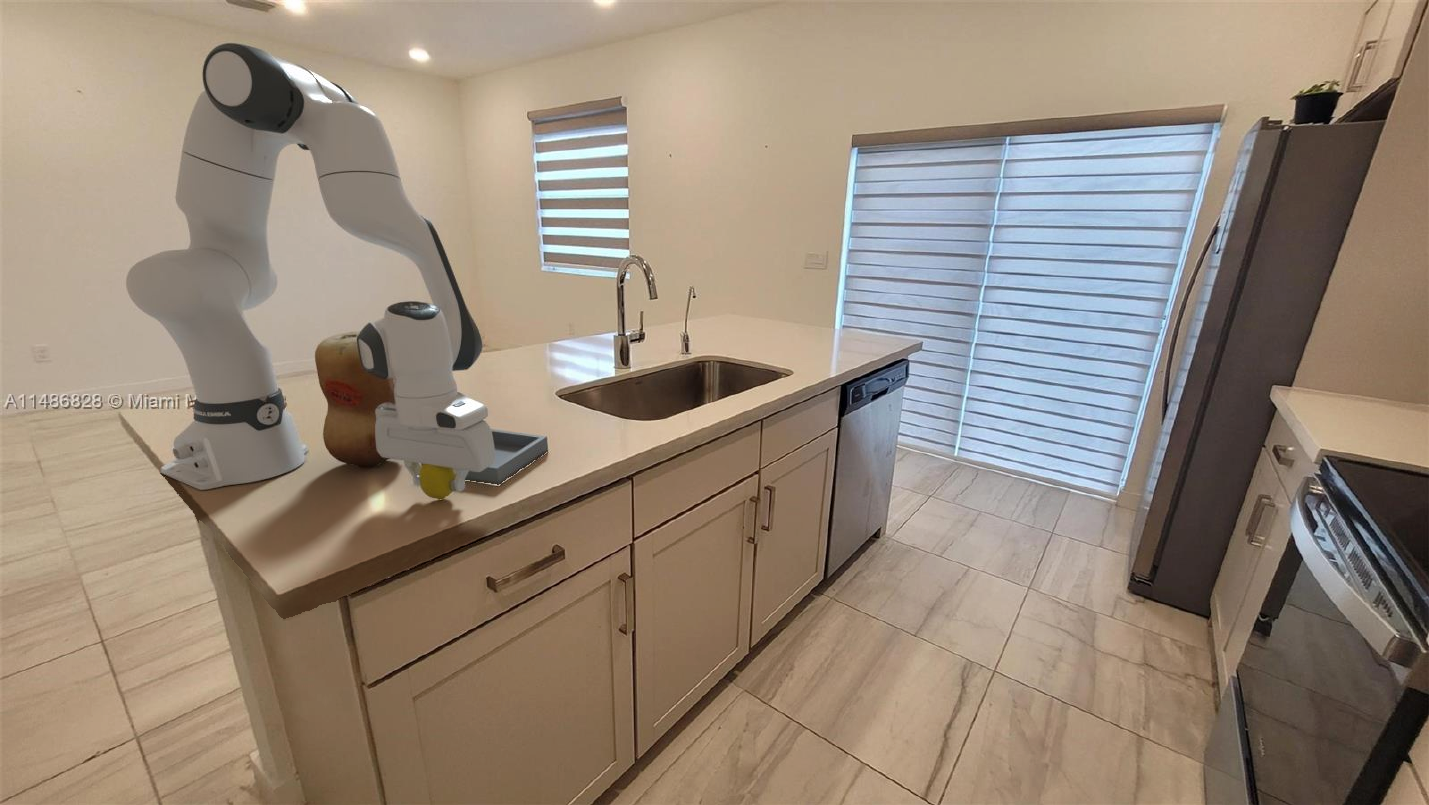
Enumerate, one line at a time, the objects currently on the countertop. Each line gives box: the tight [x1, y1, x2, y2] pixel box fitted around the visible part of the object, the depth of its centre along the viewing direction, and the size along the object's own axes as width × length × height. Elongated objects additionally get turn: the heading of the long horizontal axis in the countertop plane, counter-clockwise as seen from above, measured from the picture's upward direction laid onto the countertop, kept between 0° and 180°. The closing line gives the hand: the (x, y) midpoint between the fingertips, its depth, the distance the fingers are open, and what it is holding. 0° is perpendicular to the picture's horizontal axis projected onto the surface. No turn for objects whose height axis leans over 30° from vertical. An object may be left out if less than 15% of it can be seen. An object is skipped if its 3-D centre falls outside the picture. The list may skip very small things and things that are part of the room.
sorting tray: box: [420, 428, 549, 485], centre depth 105 cm, size 16×16×4 cm
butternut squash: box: [314, 330, 395, 468], centre depth 100 cm, size 14×13×25 cm
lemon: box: [419, 464, 457, 500], centre depth 90 cm, size 6×6×8 cm
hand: (439, 487), depth 91 cm, fingers open, 6 cm apart
